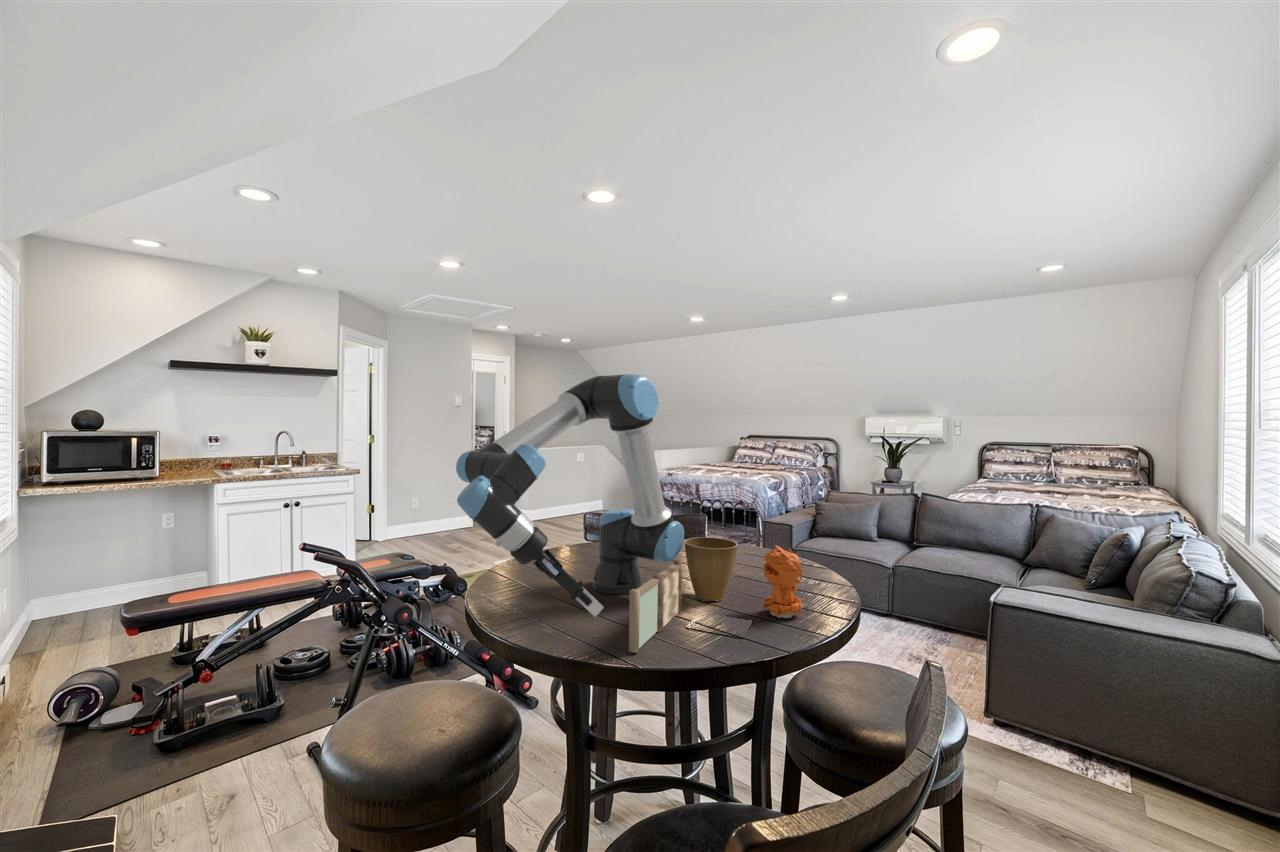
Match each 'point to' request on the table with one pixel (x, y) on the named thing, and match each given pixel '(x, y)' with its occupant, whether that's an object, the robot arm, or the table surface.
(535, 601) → the table surface
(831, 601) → the table surface
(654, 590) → the fence gate
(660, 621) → the fence fixed
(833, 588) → the table surface
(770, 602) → the orange figurine
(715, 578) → the plant pot
